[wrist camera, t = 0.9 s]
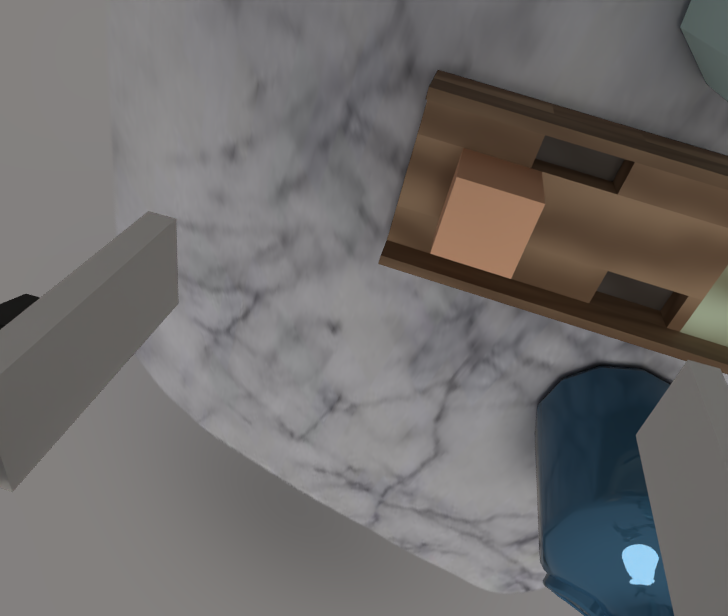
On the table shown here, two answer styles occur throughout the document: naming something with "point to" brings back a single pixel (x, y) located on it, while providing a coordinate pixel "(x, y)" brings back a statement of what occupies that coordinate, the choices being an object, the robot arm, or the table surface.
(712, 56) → the water bottle
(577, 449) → the wine bottle
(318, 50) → the table surface
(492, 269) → the block
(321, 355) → the table surface
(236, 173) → the table surface
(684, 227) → the trap box
